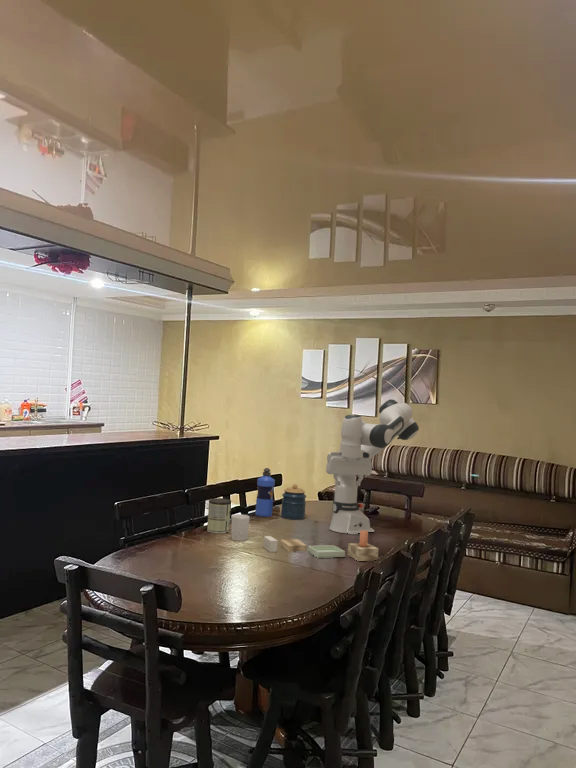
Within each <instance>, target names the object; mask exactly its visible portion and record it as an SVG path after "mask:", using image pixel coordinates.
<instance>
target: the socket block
mask: <svg viewBox="0 0 576 768" xmlns="http://www.w3.org/2000/svg"><path fill="white" fill-rule="evenodd" d="M379 549H380V548H379V547H376V546H374V545H372V544H370V543H368V542H367V547H360V546H359V542H353V543H352V542H351V543H347V554H346V556H347V555H349V556H350V557H352V558H354V559H355V561H356V560H357V561H367V562H375V561H374V560H376V559H377V558H378V559H379ZM349 556H348V557H349ZM350 557H349V558H350ZM352 558H351V559H352ZM354 559H353V560H354ZM357 561H356V562H357Z"/></svg>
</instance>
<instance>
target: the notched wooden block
mask: <svg viewBox="0 0 576 768" xmlns="http://www.w3.org/2000/svg"><path fill="white" fill-rule="evenodd" d="M279 541H280V542H279V543H280V544H279V546H280V547H281V546H282V547H283V548H282V547H281V548H282V549H283V550H285V551H286V550H287V551H286V552H288V553H295V552H294V551H306V552H307V551H308V545H307V544H306V543H304V542H303V541H302V540H300V539H280V540H279ZM292 551H293V552H292Z"/></svg>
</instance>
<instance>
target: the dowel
mask: <svg viewBox="0 0 576 768" xmlns="http://www.w3.org/2000/svg"><path fill="white" fill-rule="evenodd" d="M368 538H369V533H368V531H365V530H361V531H360V534H359V542H358V543H359V546H360V547H367V543H368Z"/></svg>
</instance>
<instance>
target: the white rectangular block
mask: <svg viewBox="0 0 576 768" xmlns="http://www.w3.org/2000/svg"><path fill="white" fill-rule="evenodd" d="M262 540H263V543H262V547H263V548H264V549H265V550H267V552H269V553H277V552H278V540H277V539H276V538H275V537H272V536H271V535H264V536H263V539H262Z"/></svg>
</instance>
